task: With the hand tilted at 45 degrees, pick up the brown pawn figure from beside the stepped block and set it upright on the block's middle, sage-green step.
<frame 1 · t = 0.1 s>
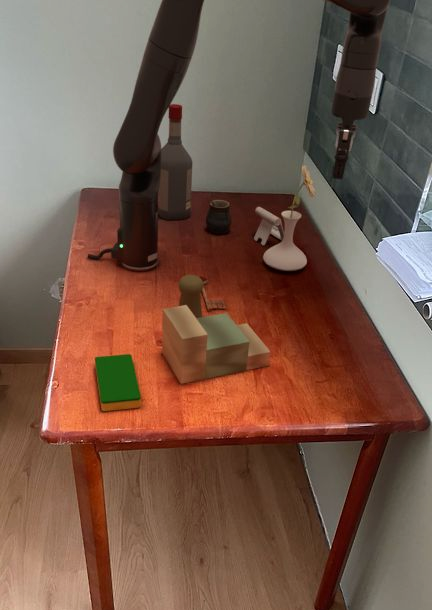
hand: (338, 171, 133), 29 cm above the table, tool pointing down, fingers open, 8 cm apart
liquor: (173, 214, 182), on the table
flower in vase: (285, 264, 161), on the table
mate gourd: (217, 231, 175), on the table
key: (207, 295, 146), on the table
brown pawn figure: (189, 323, 136), on the table
tablet stand: (269, 240, 172), on the table
stepped block: (215, 359, 126), on the table
dish sponge: (117, 387, 117), on the table
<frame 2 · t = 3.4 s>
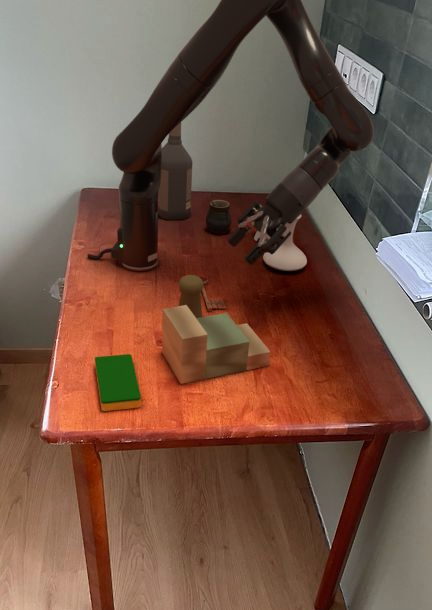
hand: (238, 252, 130), 15 cm above the table, tool tilted 45°, fingers open, 8 cm apart
nothing on the table moved.
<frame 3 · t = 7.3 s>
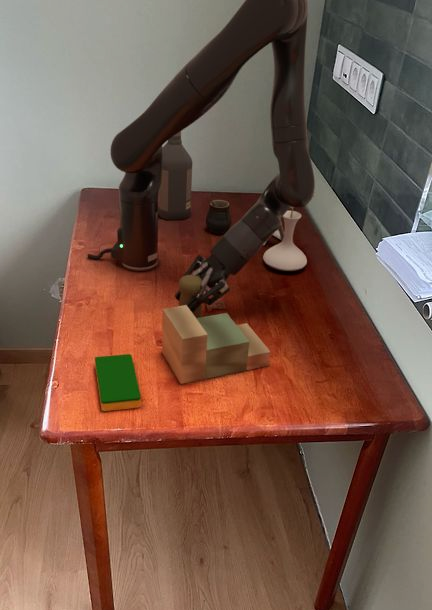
hand: (182, 305, 132), 5 cm above the table, tool tilted 45°, fingers closed on brown pawn figure, 4 cm apart
brown pawn figure: (189, 323, 136), on the table, touching gripper
everything else where it was.
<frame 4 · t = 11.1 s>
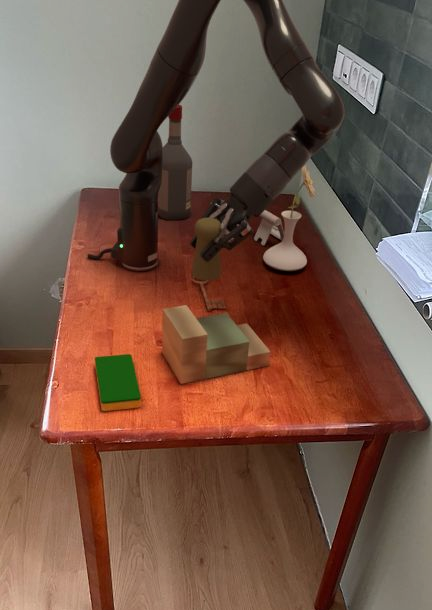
hand: (198, 252, 118), 20 cm above the table, tool tilted 45°, fingers closed on brown pawn figure, 4 cm apart
brown pawn figure: (206, 273, 122), point 15 cm above the table, touching gripper
everything else where it was.
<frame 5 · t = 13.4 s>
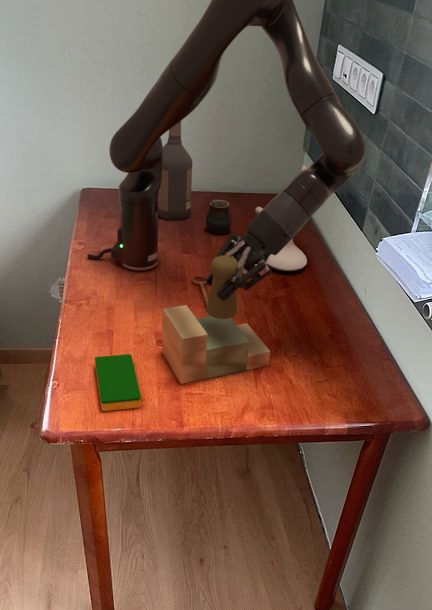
hand: (214, 290, 115), 16 cm above the table, tool tilted 45°, fingers closed on brown pawn figure, 4 cm apart
brown pawn figure: (221, 311, 119), point 11 cm above the table, touching gripper
everything else where it was.
when the fingers open (11 cm above the table, at t = 15.0 s): brown pawn figure stays where it is, resting on stepped block.
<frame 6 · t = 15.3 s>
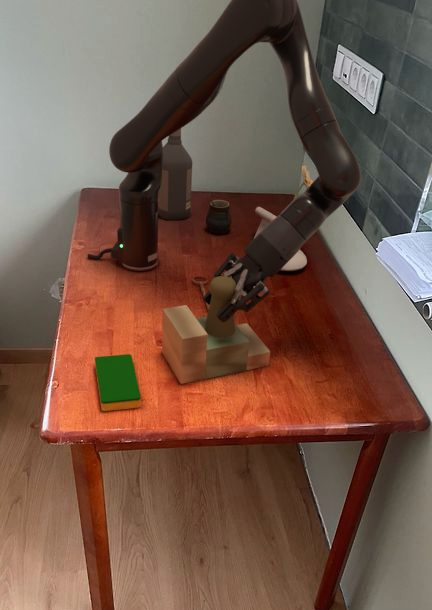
hand: (213, 310, 118), 12 cm above the table, tool tilted 45°, fingers open, 6 cm apart
brown pawn figure: (219, 329, 122), point 7 cm above the table, touching stepped block
everything else where it was.
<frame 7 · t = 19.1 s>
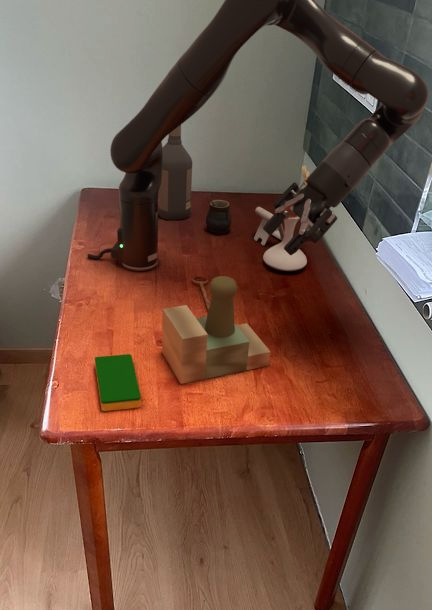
hand: (276, 242, 115), 24 cm above the table, tool tilted 45°, fingers open, 8 cm apart
nothing on the table moved.
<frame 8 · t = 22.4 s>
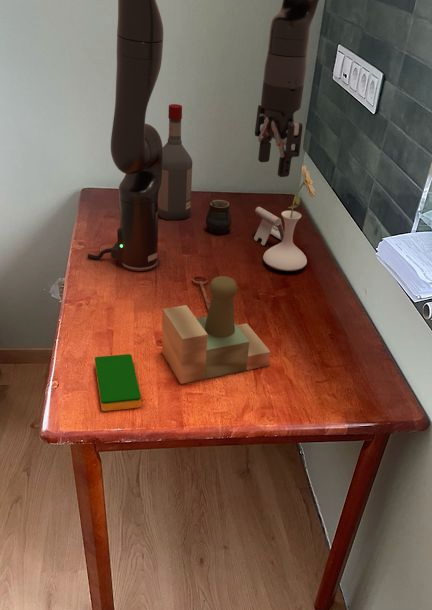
hand: (273, 168, 123), 32 cm above the table, tool pointing down, fingers open, 8 cm apart
nothing on the table moved.
at the end: brown pawn figure 0.7 cm off-centre on the stepped block, point 6.8 cm above the stepped block's base; brown pawn figure tilted 0°; the gripper is holding nothing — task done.
